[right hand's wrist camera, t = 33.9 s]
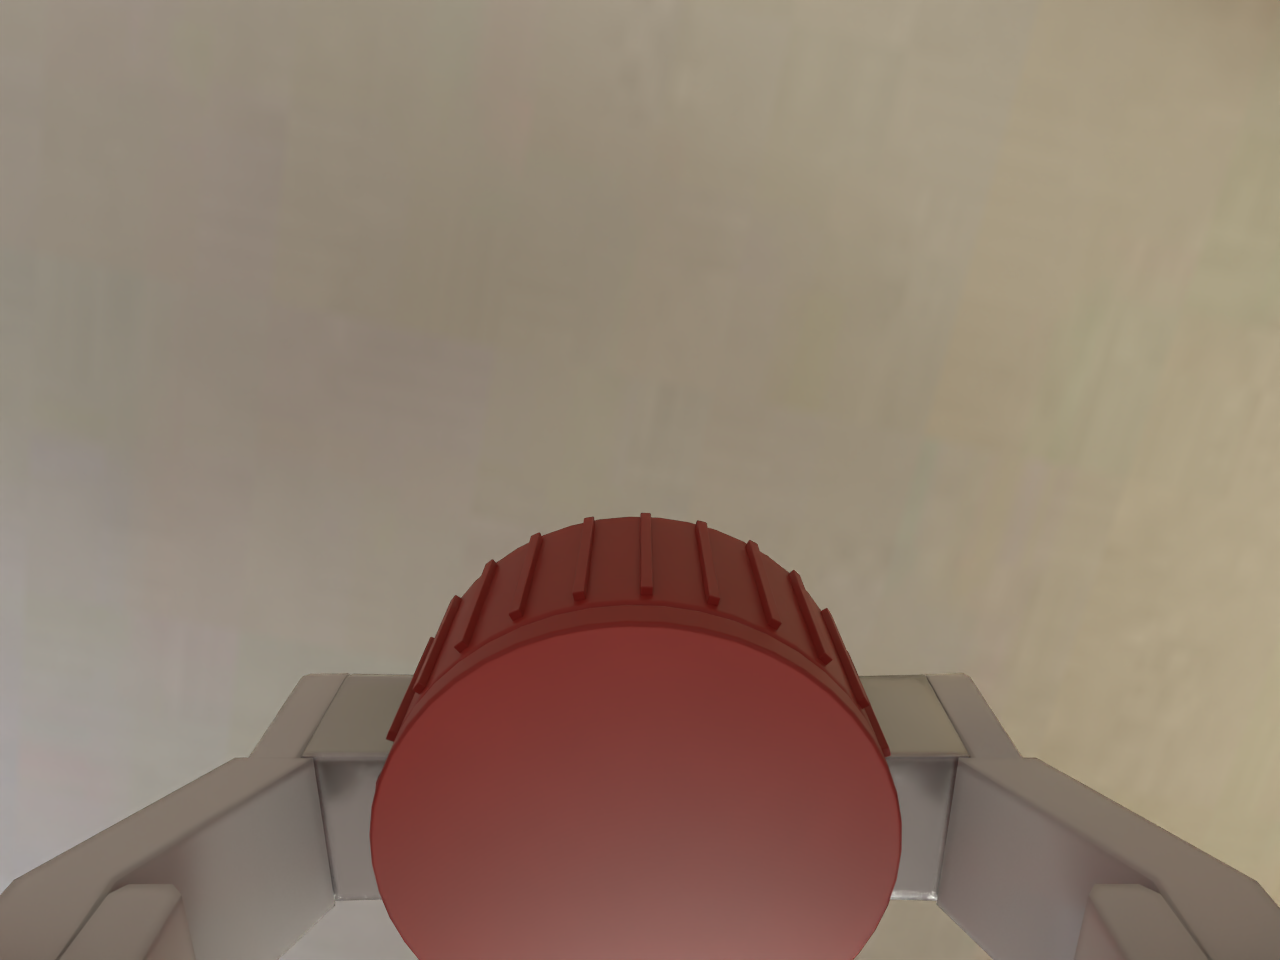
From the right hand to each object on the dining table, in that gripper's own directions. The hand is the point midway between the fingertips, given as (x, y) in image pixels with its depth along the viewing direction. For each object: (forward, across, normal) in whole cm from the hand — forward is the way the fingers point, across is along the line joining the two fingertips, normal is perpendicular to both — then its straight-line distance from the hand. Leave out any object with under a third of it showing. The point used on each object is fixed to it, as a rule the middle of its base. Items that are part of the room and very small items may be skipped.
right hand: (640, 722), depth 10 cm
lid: (-2, 0, 0) cm, 2 cm away
